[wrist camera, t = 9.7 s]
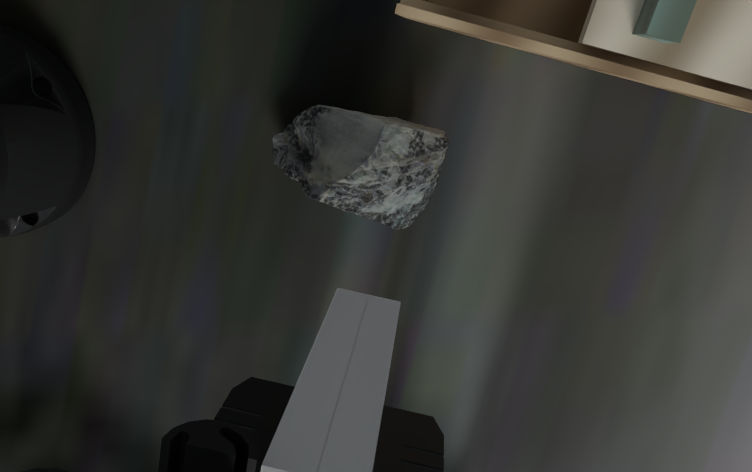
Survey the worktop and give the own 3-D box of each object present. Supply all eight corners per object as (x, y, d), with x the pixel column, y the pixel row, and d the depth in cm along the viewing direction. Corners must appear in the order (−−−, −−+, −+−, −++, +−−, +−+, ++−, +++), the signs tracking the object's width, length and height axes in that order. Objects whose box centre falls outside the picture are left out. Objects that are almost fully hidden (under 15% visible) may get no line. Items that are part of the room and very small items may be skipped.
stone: (294, 250, 37) (427, 134, 34) (238, 132, 42) (350, 21, 39) (382, 282, 45) (497, 189, 42) (326, 178, 50) (425, 89, 47)
